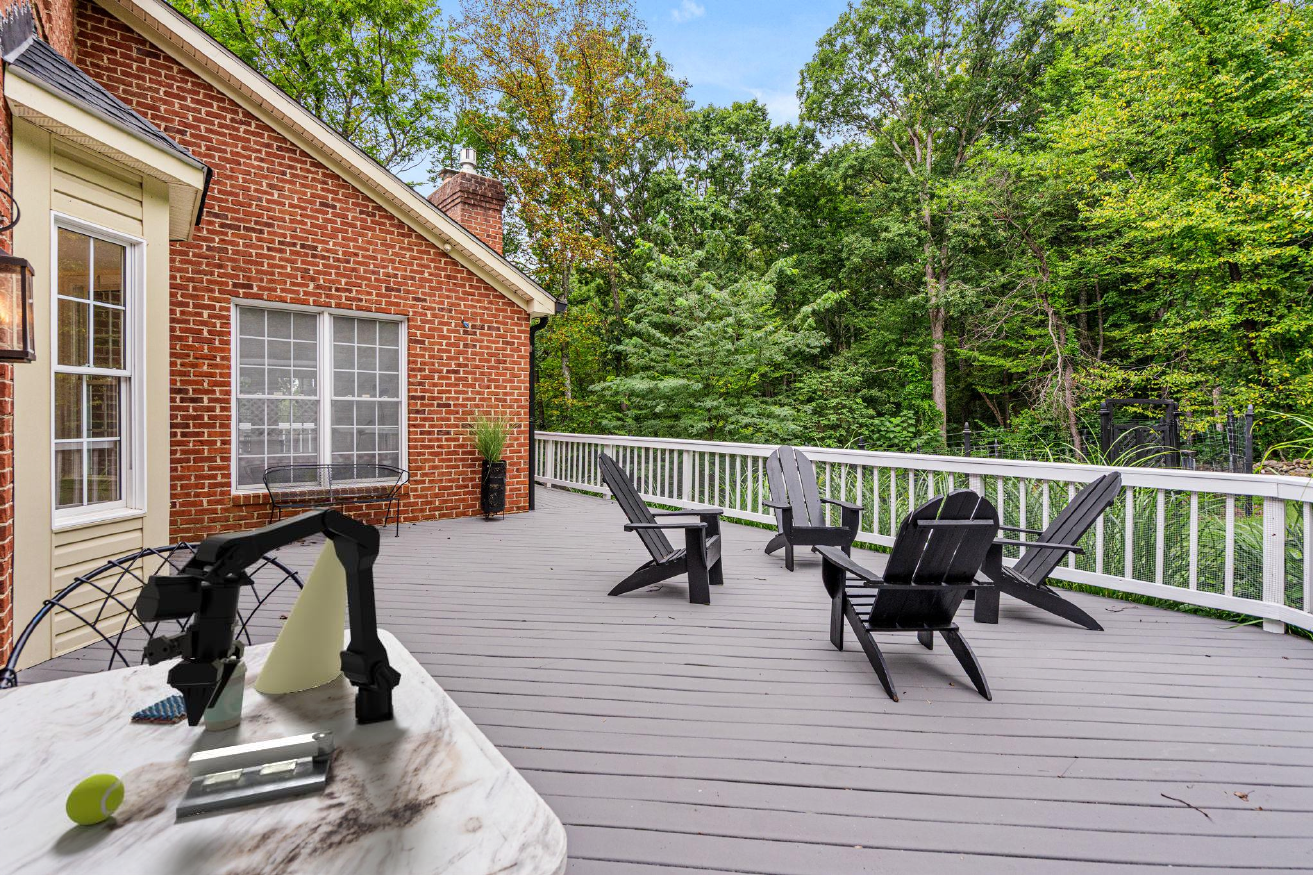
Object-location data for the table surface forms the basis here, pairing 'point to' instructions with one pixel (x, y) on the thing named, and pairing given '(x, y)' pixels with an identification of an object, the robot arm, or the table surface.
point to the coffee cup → (228, 702)
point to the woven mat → (163, 711)
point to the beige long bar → (259, 754)
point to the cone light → (310, 632)
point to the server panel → (254, 785)
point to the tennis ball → (95, 799)
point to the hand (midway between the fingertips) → (201, 716)
